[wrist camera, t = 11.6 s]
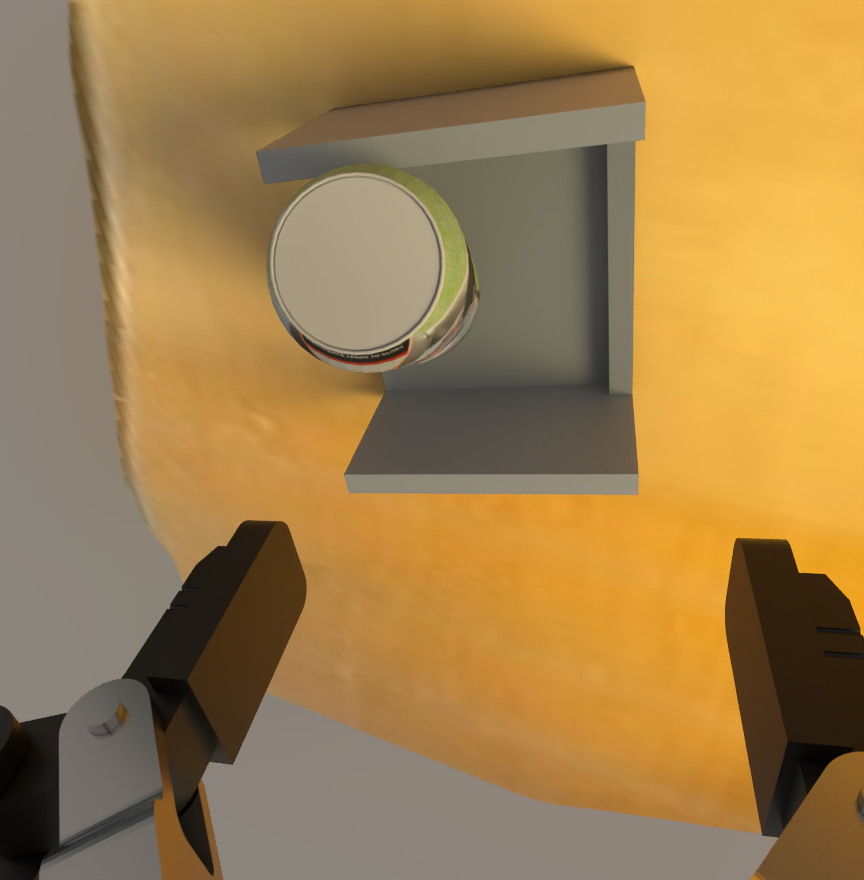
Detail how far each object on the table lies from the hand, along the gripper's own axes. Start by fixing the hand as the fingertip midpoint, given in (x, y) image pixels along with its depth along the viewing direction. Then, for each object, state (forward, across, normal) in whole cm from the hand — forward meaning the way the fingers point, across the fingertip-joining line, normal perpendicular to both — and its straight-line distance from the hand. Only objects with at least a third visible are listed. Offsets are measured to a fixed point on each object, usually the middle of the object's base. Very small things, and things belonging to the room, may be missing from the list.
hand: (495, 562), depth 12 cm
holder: (+21, +3, +2) cm, 21 cm away
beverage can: (+19, +6, +2) cm, 20 cm away
